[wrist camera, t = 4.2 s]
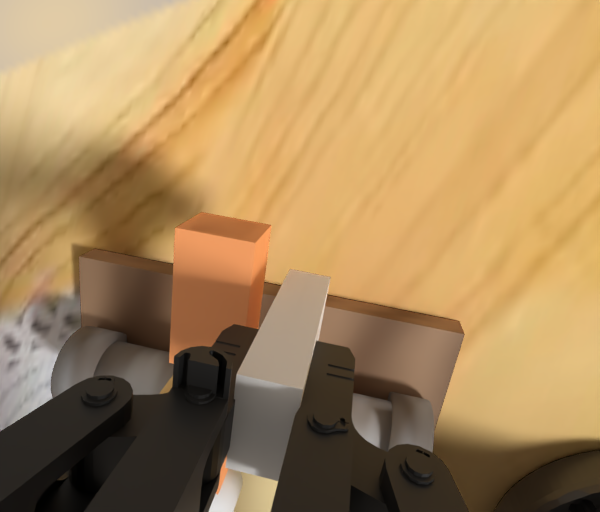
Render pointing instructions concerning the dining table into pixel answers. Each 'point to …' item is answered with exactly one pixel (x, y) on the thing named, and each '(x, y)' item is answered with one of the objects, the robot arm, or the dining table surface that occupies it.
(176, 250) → the valve lever
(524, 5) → the dining table surface
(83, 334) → the valve stand
